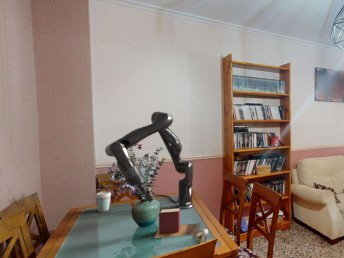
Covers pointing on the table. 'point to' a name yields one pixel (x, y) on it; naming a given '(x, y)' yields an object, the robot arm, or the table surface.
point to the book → (169, 221)
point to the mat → (180, 231)
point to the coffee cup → (103, 201)
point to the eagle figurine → (200, 235)
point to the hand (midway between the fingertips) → (151, 200)
